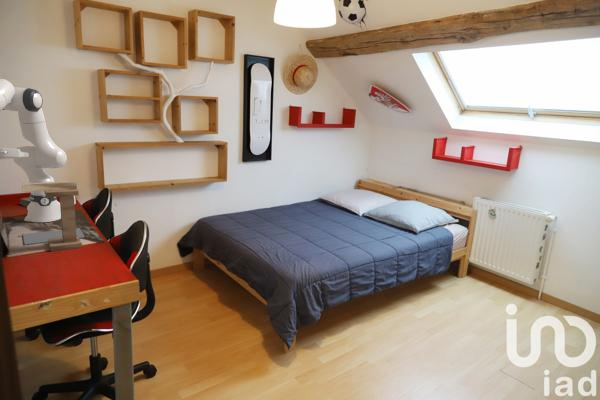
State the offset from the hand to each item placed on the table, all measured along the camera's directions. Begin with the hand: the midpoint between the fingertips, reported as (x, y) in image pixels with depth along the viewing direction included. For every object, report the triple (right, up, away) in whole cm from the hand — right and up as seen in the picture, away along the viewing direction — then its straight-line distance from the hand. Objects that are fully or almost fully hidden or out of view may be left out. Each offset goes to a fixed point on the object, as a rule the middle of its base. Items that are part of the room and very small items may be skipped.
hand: (22, 155), depth 176 cm
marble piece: (-40, -23, +72) cm, 85 cm away
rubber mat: (+1, -37, +20) cm, 42 cm away
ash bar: (+11, -15, +2) cm, 18 cm away
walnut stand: (+13, -40, +10) cm, 43 cm away
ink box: (-22, -23, +74) cm, 81 cm away
